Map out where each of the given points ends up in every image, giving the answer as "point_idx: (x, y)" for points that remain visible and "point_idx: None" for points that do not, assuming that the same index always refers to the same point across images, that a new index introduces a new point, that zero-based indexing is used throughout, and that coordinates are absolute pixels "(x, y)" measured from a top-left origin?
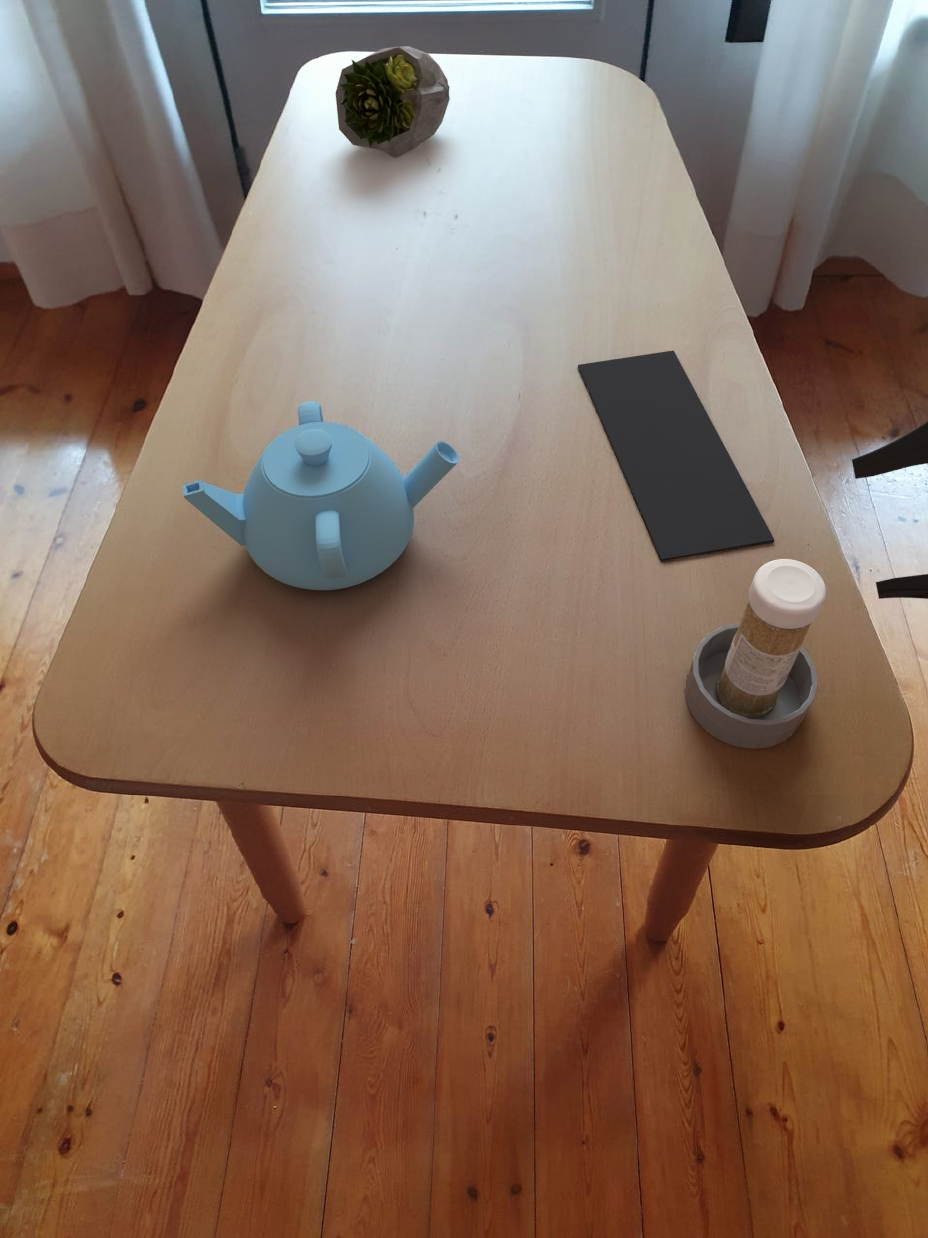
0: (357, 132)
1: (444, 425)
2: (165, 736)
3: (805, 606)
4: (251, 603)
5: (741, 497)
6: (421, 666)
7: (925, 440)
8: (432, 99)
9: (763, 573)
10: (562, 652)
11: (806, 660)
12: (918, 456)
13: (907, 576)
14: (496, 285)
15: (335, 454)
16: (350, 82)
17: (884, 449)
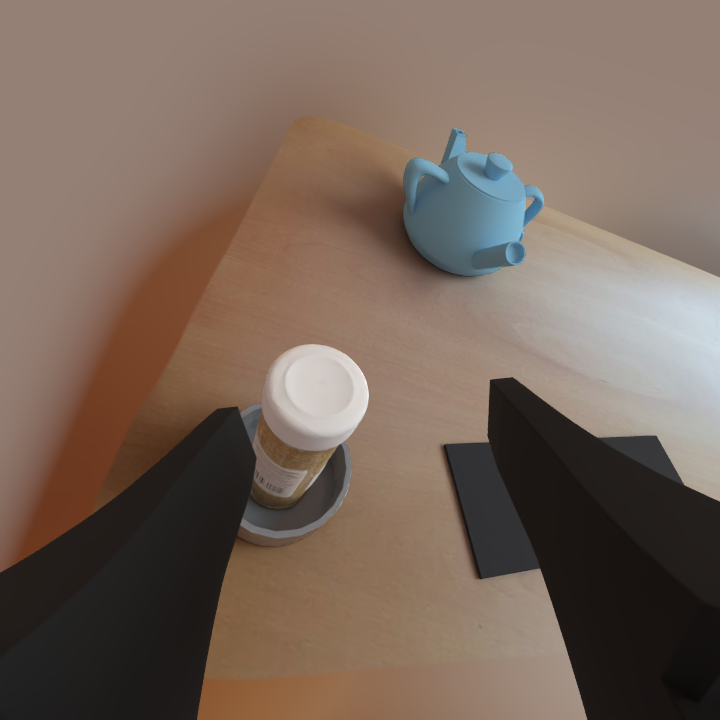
0: None
1: (559, 324)
2: (309, 148)
3: (275, 388)
4: (396, 197)
5: (535, 555)
6: (343, 256)
7: (591, 471)
8: None
9: (342, 358)
10: (347, 340)
11: (290, 530)
12: (548, 515)
13: (211, 439)
14: (715, 396)
15: (496, 183)
16: None
17: (544, 406)
